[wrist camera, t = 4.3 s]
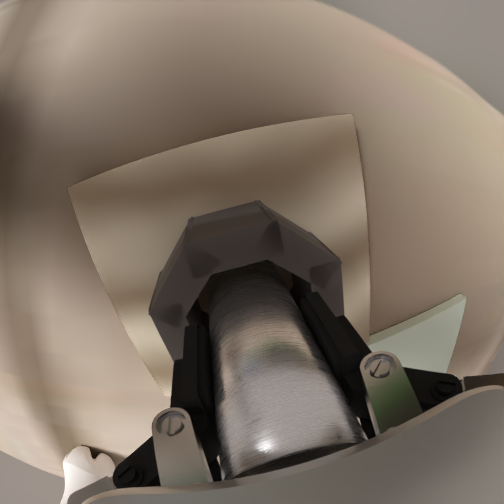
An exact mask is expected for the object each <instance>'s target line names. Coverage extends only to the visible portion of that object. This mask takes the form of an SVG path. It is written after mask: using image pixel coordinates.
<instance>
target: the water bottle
mask: <svg viewBox="0 0 504 504" xmlns="http://www.w3.org/2000/svg"><path fill="white" fill-rule="evenodd" d="M63 468H64V474H65V491H64V495H63V498H62V500H61V503H60V504H67V501H68V498H69V496H70V495H71V494H72V493H73V492H75V491H77V490H80V489H82V488H84V487H86V486H88V485H90V484H92V483H94V482H96V481H98V480H100V479H102V478H104V477H105V476H108V477H112V476H113V472H114V470H115V468H116V467H115V465H114V463H113V461H112V459H111V458H110V457H109V456H108V455H106V454H104V453H100V454H99V455H98V456H97V457H96V459H93V458H92V457H91V452H90V449H89V448H88V447H86V446H78V447H76V448H75V449H73V450H71V451H70V452H69V453H68V454H67V455H66V456H65V458H64V461H63Z"/></svg>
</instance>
